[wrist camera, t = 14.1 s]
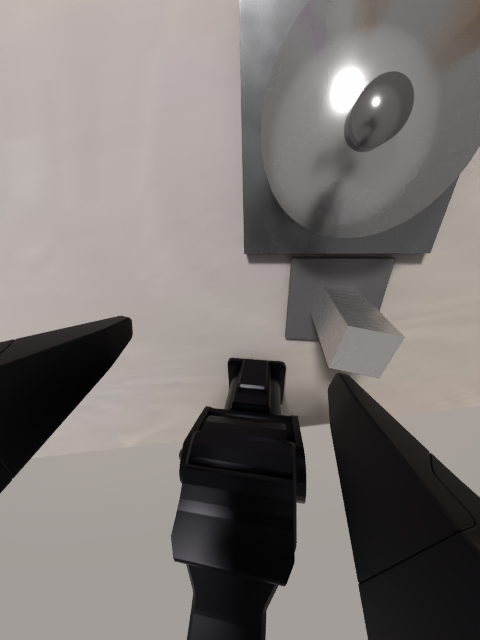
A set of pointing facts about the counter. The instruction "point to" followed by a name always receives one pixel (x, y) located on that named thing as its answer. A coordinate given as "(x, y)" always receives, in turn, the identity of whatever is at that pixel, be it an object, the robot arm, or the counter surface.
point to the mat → (344, 271)
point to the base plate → (258, 200)
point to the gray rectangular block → (353, 331)
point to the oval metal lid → (371, 111)
